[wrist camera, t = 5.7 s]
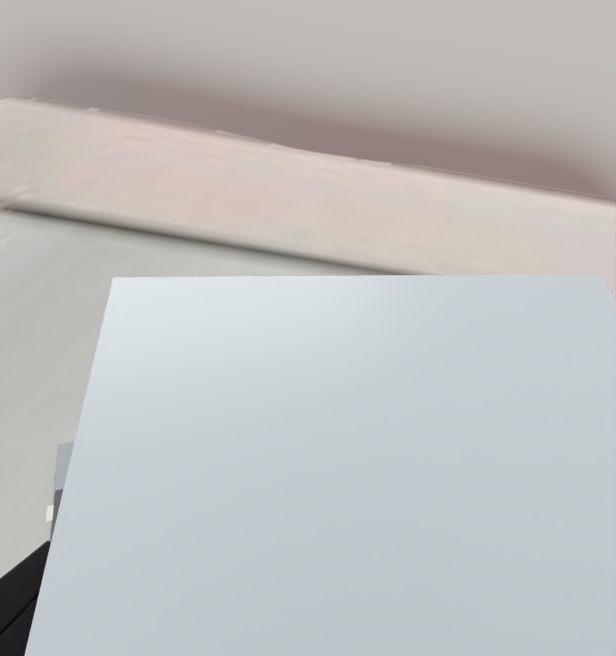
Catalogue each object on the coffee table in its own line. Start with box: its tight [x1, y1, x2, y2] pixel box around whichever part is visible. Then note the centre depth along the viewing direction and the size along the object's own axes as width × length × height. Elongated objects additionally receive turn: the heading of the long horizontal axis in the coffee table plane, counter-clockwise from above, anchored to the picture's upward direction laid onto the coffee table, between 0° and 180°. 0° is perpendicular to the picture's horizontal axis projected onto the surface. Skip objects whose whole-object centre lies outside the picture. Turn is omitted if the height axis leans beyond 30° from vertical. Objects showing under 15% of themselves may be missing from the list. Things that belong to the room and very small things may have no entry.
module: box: [24, 274, 616, 656], centre depth 8 cm, size 6×6×12 cm
